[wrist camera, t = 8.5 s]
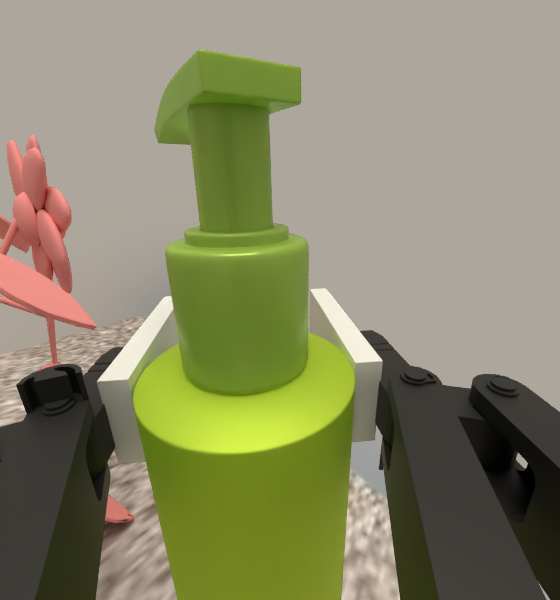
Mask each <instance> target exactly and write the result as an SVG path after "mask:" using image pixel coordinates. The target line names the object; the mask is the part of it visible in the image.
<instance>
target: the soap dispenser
mask: <svg viewBox="0 0 560 600" xmlns="http://www.w3.org/2000/svg"><path fill="white" fill-rule="evenodd" d="M300 103H301V68H300V67H296V66H291V65H284V64H279V63H274V62H269V61H262V60H258V59H252V58H247V57H241V56H236V55H230V54H225V53H218V52H214V51H208V50H202V49H199V50H198V51H197V52H196V53H195V54H194V55H193V56H192V57H191V58H190V59H189V60H188V61H187V62H186V63H185V64H184V65H183V66H182V67H181V68H180V69H179V70H178V72H177V73H176V74H175V75H174V77H173V78H172V79H171V81H170V82H169V84H168V86H167V88H166V89H165V91H164V94H163V97H162V99H161V102H160V106H159V109H158V114H157V118H156V123H155V134H156V137H157V140H158V143H165V144H188V145H191V149H192V158H193V167H194V176H195V185H196V194H197V203H198V211H199V220H200V226H199V227H193V228H190V229H187V230H186V231H185V234H184V235H185V238H184V239H180V240H177V241H174V242H172V243H170V244H169V245H168V246H167V247H166V250H165V256H166V264H167V270H168V277H169V283H170V290H171V295H172V303H173V309H174V315H175V322H176V328H177V335H178V341H179V344H177V345H175V346H173V347H172V348H170V349H168V350H167V351H165V352H164V353H162V354H161V355H160V356H158V357H157V358H156V359H155V360H154V361H152V362H151V363H150V364H149V365H148V366H147V368H146V369H145V370H144V371H143V373H142V374H141V376H140V377H139V379H138V381H137V383H136V386H135V389H134V393H133V407H134V412H135V416H136V421H137V425H138V429H139V434H140V438H141V442H142V447H143V451H144V455H145V460H146V464H147V468H148V473H149V477H150V482H151V486H152V490H153V495H154V499H155V503H156V508H157V512H158V516H159V521H160V525H161V529H162V534H163V538H164V542H165V547H166V551H167V555H168V560H169V564H170V568H171V573H172V577H173V581H174V586H175V590H176V595H177V599H178V600H341V594H342V579H343V564H344V549H345V534H346V519H347V504H348V489H349V473H350V458H351V443H352V428H353V413H354V398H355V374H354V370H353V368H352V366H351V364H350V363H349V361H348V359H347V358H346V356H345V354H344V353H343V352H342V351H341V350H340V349H339V348H337V347H336V346H335V345H333V344H332V343H330V342H329V341H327V340H325V339H323V338H321V337H319V336H317V335H314V334H312V333H309V332H308V266H309V265H308V263H309V260H308V259H309V258H308V256H309V255H308V254H309V253H308V242H307V241H306V239H305V238H303V237H301V236H298V235H295V234H289V233H288V227H287V226H285V225H283V224H276V223H273V219H272V193H271V192H272V190H271V161H270V134H269V133H270V132H269V114H271V113H274V112H277V111H280V110H283V109H286V108H289V107H292V106H295V105H299V104H300Z"/></svg>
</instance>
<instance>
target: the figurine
mask: <svg viewBox="0 0 560 600" xmlns="http://www.w3.org/2000/svg"><path fill="white" fill-rule="evenodd" d="M7 158H8V165H9V171H10V177H11V181H12V185H13V189H14V192H15V194H16V198H15V200H14V202H13V217H14V219H13V221H12V223H11V222H9V221H8V220H6V219H5V218H4V217H2V216H1V215H0V238H1V239H3V242H2V244H1V246H0V293H1V294H2V295H4V296H6V297H7V298H9V299H7V298H4V297H1V296H0V303H4V304H6V305H9V306H12V307H15V308H18V309H21V310H24V311H27V312H30V313H33V314H36V315H39V316H42V317H45V318H46V319H47V326H48V333H49V341H50V348H51V355H52V363H50V364H47V365H44V366H43V367H41V368H40V369H39V370H41V369H44V368H47V367H51V366H55V365H62V364H61V363H59V362H57V353H56V339H55V324H54V319H55V320H59V321H62V322H65V323H69V324H72V325H75V326H79V327H83V328H88V329H92V330H94V329H95V328H96V324H95V323H94V322H93V320H92V319H91V318H90V316H89V315H88V314H87V313H86V312H85V311H84V310H83V308H82V307H81V306H80V305H79V304H78V303H77V302H76V301H75V299H74V298H73V297H72V296H70V295H69V294H68V293H71V291H72V274H71V268H70V262H69V258H68V255H67V251H66V248H65V245H64V243H63V238H64V236H65V232H66V230H67V229H68V227H69V226H70V223H71V219H72V218H71V209H70V207H69V204H68V202H67V200H66V199H65V197H64V196H63V195H62V194H61V193H60V192H59V191H58V190H57V189H56V188H55V187H49V186H47V178H46V167H45V162H44V158H43V155H42V154H41V150H40V146H39V143H38V141H37V140H36V138H35V136H34V135H31V137H30V138H29V140H28V142H27V147H26V155H25V157H24V159H22V156H21V154H20V152H19V149H18V147H17V145H16V143H15V142H14V141H13V140H10V141H8V143H7ZM10 245H13V246H15V247H17V248H18V249H20V250H22V251H24V252H26V253H27V251H28V250H29V245H30V246H32V255H33V261H34V264H35V268H36V271H35V270H33V269H32V268H30V267H29V266H27V265H24V264H22V263H20V262H18V261H16V260H14V259H12V258H10V257H8V256H6V254H7V251H8V250H9V247H10ZM53 270H54V273H55V275H56V277H57V279H58V282H59V284H60V286H61V287H62V288H60V287H59V286H58V285H56V284H55V283H54V282H52V278H53ZM39 370H38V371H39ZM133 518H134V516H133V515H132V514H131V513H130V512H129V511H128V510H127V509H126V508H124V507H123V506H122V505H121V504H120V503H119V502H118V501H117V500H115V499H114V498H112V497H111V496H109V495H108V500H107V509H106V517H105V521H108V522H113V523H121V522H128V521H131V520H133ZM124 519H129V520H128V521H123V520H124Z"/></svg>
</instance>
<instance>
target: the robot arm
mask: <svg viewBox="0 0 560 600" xmlns="http://www.w3.org/2000/svg"><path fill="white" fill-rule="evenodd" d="M310 333H312V334H314V335H317V336H319V337H321V338H323V339H325V340H327V341H329V342H330V343H332V344H333V345H335V346H336V347H337V348H339V349H340V350H341V351H342V352H343V353H344V354H345V356H346V358H347V359H348V361H349V363H350V364H351V366H352V368H353V370H354V374H355V398H354V413H353V428H352V442H360V441H371V440H375V431H376V425H377V427H378V429H379V430H380V432H381V434H382V436H383V439H382V446H381V455H380V464H379V470H383V468H384V476H385V484H386V491H387V499H388V507H389V515H390V523H391V530H392V538H393V546H394V554H395V562H396V569H397V577H398V585H399V593H400V600H546V598H545V596H544V594H543V592H542V590H541V588H540V586H539V584H540V585H541V587H542V588H543V589H544V591H545V592H546V594H547V595H548V597H549V598H550V600H560V412H559V411H558V410H556V409H555V408H554V407H552V406H551V405H550V404H548V403H547V402H546V401H544V400H543V399H542V398H540V397H539V396H538V395H537V394H535V393H534V392H533V391H531V390H530V389H529V388H527V387H526V386H524V385H522V384H521V383H519V382H517V381H515V380H512V379H510V378H508V377H505V376H500V375H496V374H482V375H478V376H476V377H475V378H473V381H472V386H471V389H469V388H460V387H452V386H445V385H442V383H441V381H440V380H439V378H438V377H437V376H436V375H434V374H433V373H431V372H430V371H427V370H425V369H422V368H419V367H414V366H410V365H409V364H408V363H407V362H406V361H405V360H404V359H403V358H402V357H401V356H400V355H399V354H398V352H397V351H396V350H394V348H393V347H392V346H391V345H390V344H389V342H388V341H387V340H386V339H385V338H384V337H383V336H381V335H380V334H378V333H376V332H374V331H372V330H369V331H359V330H358V329H357V328H356V326H355V325H354V324H353V322H352V321H351V320H350V319H349V317H348V316H347V315H346V313H345V312H344V311H343V310H342V308H341V307H340V306H339V305H338V303H337V302H336V301H335V299H334V298H333V297H332V296H331V294H330V293H329V292H328V291H327V289H326V288H325V289H310ZM177 344H179V341H178V335H177V328H176V322H175V315H174V309H173V303H172V296H168V297H164V298H163V299H162V301H161V302H160V303H159V304H158V306H157V307H156V308H155V309H154V311H153V312H152V313H151V314H150V316H149V317H148V318H147V319H146V321H145V322H144V323H143V324H142V326H141V327H140V328H139V329H138V331H137V332H136V333H135V334H134V336H133V337H132V338H131V339H130V341H129V342H128V343H127V344H126V346H125V347H116V348H113V349H111V350H110V351H108V352H106V353H105V354H103V355H102V356H101V357H100V358H99V359H98V360H97V361H96V362H95V363H94V365H93V366H92V367H91V368H90V369H89V370H88V372H87V373H85V375H84V376H83V373H82V370H81V367H79V366H77V365H75V364H62V365H55V366H51V367H47V368H44V369H41V370H39V371H36V372H34V373H32V374H30V375H28V376H27V377H25V378H23V379H22V380H21V381H20V382H19V383H18V384H17V385H16V386H17V389H18V391H19V394H20V397H21V399H22V402H23V405H24V408H25V410H26V413H27V415H26V417H25V418H24V420H23V421H22V422H18V423H14V424H10V425H6V426H3V427H0V600H95V598H96V590H97V582H98V574H99V566H100V558H101V549H102V541H103V533H104V525H105V517H106V509H107V500H108V492H109V484H110V470H109V466H108V463H107V462H108V460H109V458H110V456H111V454H112V452H113V450H114V449H115V452H116V456H117V460H118V464H125V463H136V462H146V460H145V455H144V451H143V447H142V442H141V438H140V434H139V429H138V425H137V421H136V416H135V412H134V407H133V393H134V389H135V386H136V383H137V381H138V379H139V377H140V376H141V374H142V373H143V371H144V370H145V369H146V368H147V366H148V365H149V364H150V363H151V362H152V361H154V360H155V359H156V358H157V357H158V356H160V355H161V354H162V353H164V352H165V351H167V350H168V349H170V348H172V347H173V346H175V345H177ZM518 453H519V454H520V455H521V456H522V457H523V458H524V459H525V460H526V461H527V463H528V465H527V468H526V469H525V468H523V467H522V466H521V465H520V464H519V463H518V462H517V461H516V457H517V454H518ZM538 582H539V583H538Z"/></svg>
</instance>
